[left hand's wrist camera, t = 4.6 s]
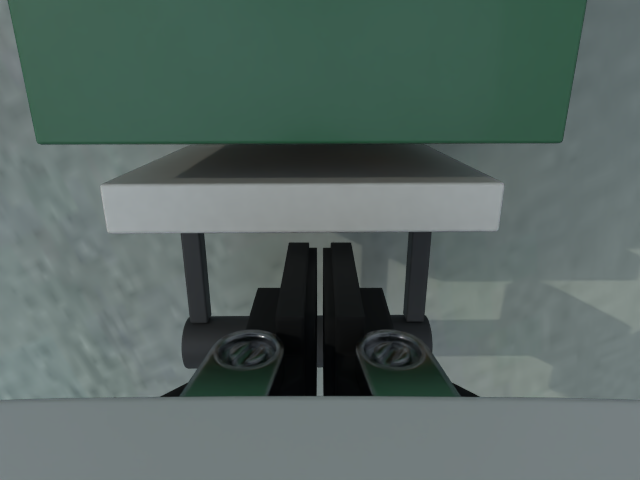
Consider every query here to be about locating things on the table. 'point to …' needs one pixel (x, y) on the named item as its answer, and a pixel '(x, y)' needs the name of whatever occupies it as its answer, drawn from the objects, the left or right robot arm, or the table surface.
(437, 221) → the drawer
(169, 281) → the table surface
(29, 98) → the cabinet
